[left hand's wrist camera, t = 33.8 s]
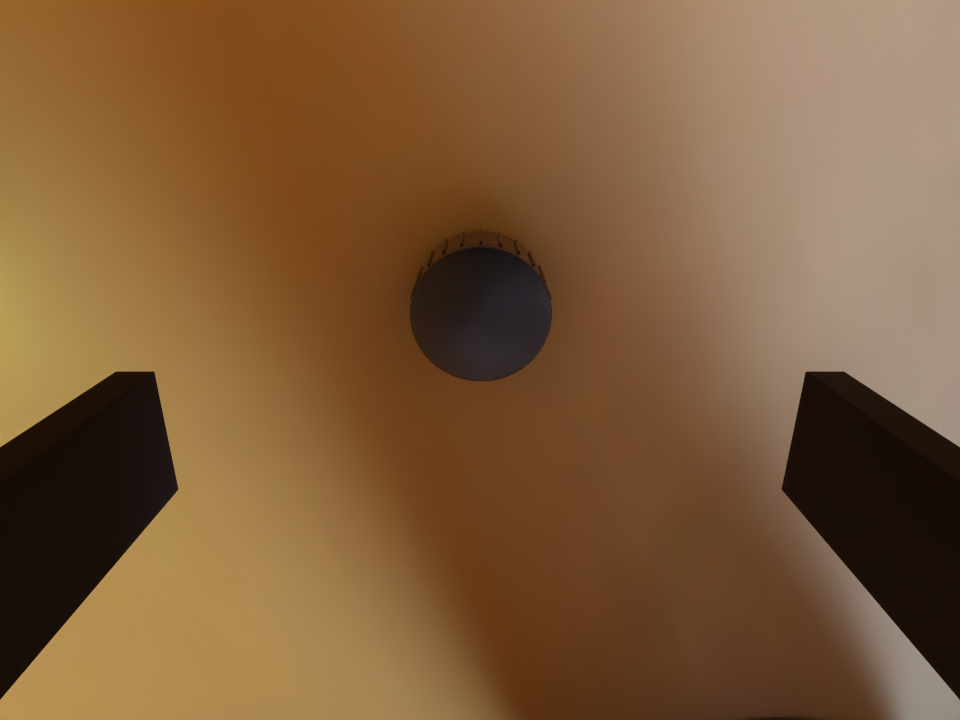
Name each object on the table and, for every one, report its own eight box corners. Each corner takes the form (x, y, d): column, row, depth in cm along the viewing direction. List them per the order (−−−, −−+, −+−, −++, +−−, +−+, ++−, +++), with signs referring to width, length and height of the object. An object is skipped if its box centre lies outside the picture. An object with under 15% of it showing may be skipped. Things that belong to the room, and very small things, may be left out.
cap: (512, 373, 20) (516, 403, 18) (396, 326, 19) (386, 352, 17) (568, 261, 19) (579, 280, 17) (445, 207, 18) (440, 219, 16)
